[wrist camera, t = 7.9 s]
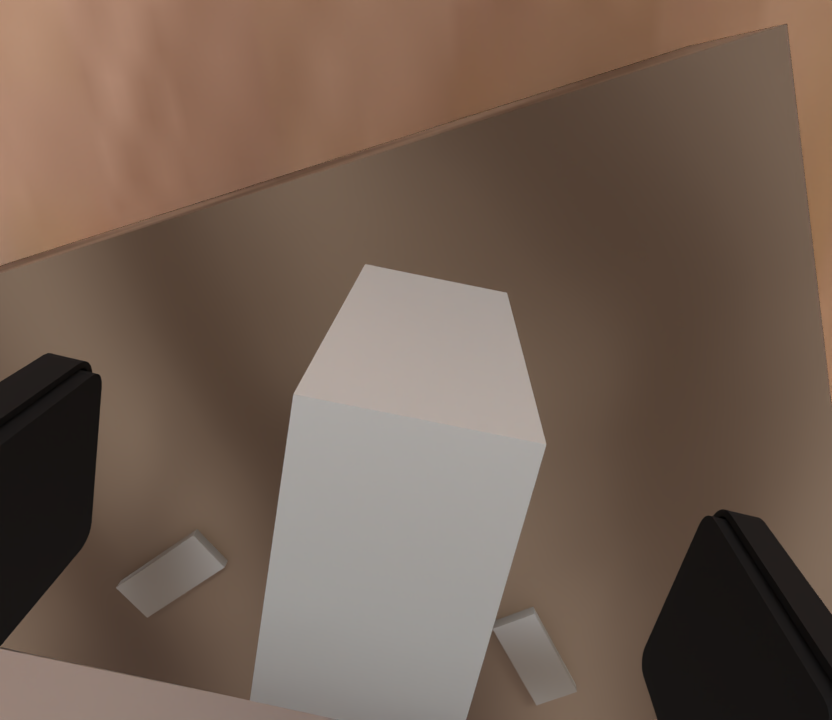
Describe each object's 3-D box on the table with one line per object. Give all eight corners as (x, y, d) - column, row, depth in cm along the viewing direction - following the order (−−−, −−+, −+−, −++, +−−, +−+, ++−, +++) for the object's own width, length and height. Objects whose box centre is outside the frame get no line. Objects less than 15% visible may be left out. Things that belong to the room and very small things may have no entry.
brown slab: (690, 45, 16) (795, 21, 11) (770, 548, 20) (871, 693, 15) (-62, 285, 19) (-245, 351, 14) (152, 677, 23) (70, 833, 18)
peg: (378, 239, 12) (293, 394, 6) (499, 263, 13) (545, 444, 6) (303, 669, 16) (197, 1062, 10) (397, 687, 16) (357, 1091, 10)
